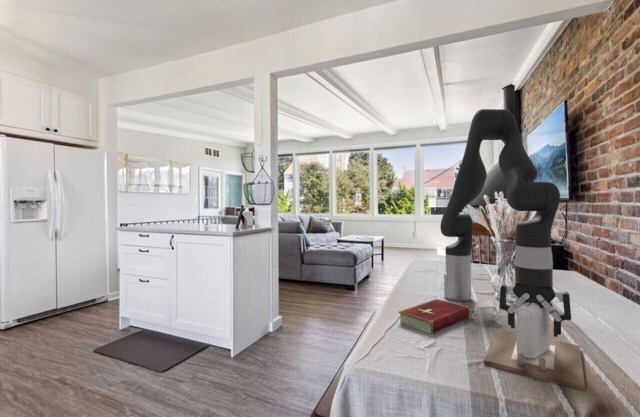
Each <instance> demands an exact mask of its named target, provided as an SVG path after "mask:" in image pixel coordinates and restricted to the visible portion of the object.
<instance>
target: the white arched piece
mask: <svg viewBox="0 0 640 417" xmlns="http://www.w3.org/2000/svg"><path fill="white" fill-rule="evenodd" d="M481 309H482V310H483V309H493V310H492V311H491V313H490V314H491V315H493V317H494V316H495V317H494V318H493V320H494V321H495V322H496V324H497V323H498V324H499V321H497V320H496V319H499V318H501V317H502V315H501V314H500V313H499V311H498V310H497V306H496V305H495V304H494V303H493V300H485V301H480V302H476V305H474V307H473V310H474V312H473V314H472V315H471V317H473V318H474V319H475V322H476V323H477V322H478V320H479V318H478V317H479V313H478V310H481ZM494 312H495V313H496V314H497V316H496V315H495V314H494ZM475 315H477V316H475Z"/></svg>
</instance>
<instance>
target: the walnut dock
mask: <svg viewBox="0 0 640 417" xmlns="http://www.w3.org/2000/svg"><path fill="white" fill-rule="evenodd" d="M483 365H485V366H489V367H493V368H497V369H500V370H505V371H508V372H511V373H516V374H519V375H523V376H526V377H530V378H535V379H539V380H541V381H547V382H550V383H553V384H557V385H561V386H565V387H569V388H572V389H575V388H576V390H579V389H580V390H581V391H583V390H584V391H586V383H585V376H584V369H583V359H582V353H581V345H579V344H573V343H569V342H563V341H558V340H554V339H550V348H549V350H548V351H546V352H544V353H543V354H541V355H540V356H538V357H536V358H531V359H530V358H526V357H524V354H522V353H517V332H513V331H508V330H503V329H498V330H497V332H496V334H495V336H494V338H493V341H492V342H491V344H490V347H489V349H488V351H487V352H486V355H485V357H484V359H483Z"/></svg>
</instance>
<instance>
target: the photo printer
mask: <svg viewBox="0 0 640 417" xmlns="http://www.w3.org/2000/svg"><path fill="white" fill-rule="evenodd" d="M550 315H551V314H550V313H549V312H548V311H547V310H546V309H545V307H544V308H540V307H539V306H538V305H537V304H536V303H531V304H530V303H529V302H526V303H524V304H522V305H521V306H519V307H518V308H517V310H516V333H517V353H522V354H524V357H526V358H530V359H531V358H536V357H538V356H540V355H541V354H543V353H544V352H546V351H548V350H549V348H550V340H551V337H550V335H551V334H550V332H551V331H550V328H551V326H550V322H551V321H550Z"/></svg>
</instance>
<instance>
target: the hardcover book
mask: <svg viewBox="0 0 640 417" xmlns="http://www.w3.org/2000/svg"><path fill="white" fill-rule="evenodd" d="M398 314H400V318H399V319H400V322H402V323H401V324H403V323H405V324H404V325H406V324H407V325H406V326H409V327H412V328H414V327H415V329H417V328H418V329H417V330H420V329H421V331H423V332H426V333H428V332H429V334H431V335H433V334H436V333H438V332H440V331H442V330H444V328H445V329H447V328H449V327H451V326H453V325H455V324H458V323H461V322H462V321H464V320H467V319H469V318H470V307H469V306H466V305H463V304H458V303H455V302H451V301H447V300H443V299H438V298H435V299H432V300H428V301H426V302H422V303H420V304H417V305H414V306H411V307H408V308H405V309H402V310H399V311H398Z"/></svg>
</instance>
